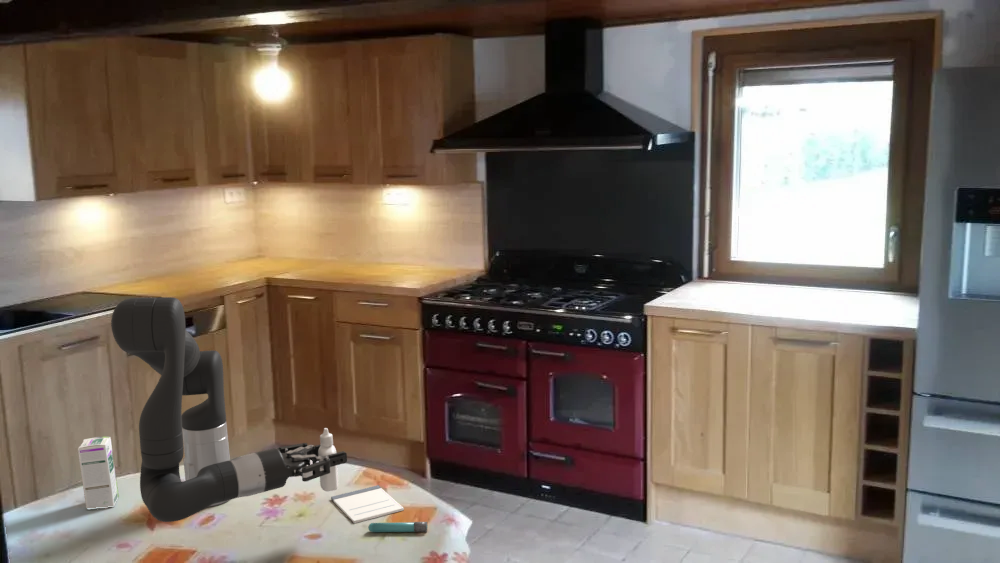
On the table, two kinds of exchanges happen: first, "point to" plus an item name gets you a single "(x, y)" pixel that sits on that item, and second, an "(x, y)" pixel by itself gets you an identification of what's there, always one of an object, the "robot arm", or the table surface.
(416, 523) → the marker
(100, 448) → the syrup box
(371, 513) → the notepad
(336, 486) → the white tapered bottle shape
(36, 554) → the table surface
